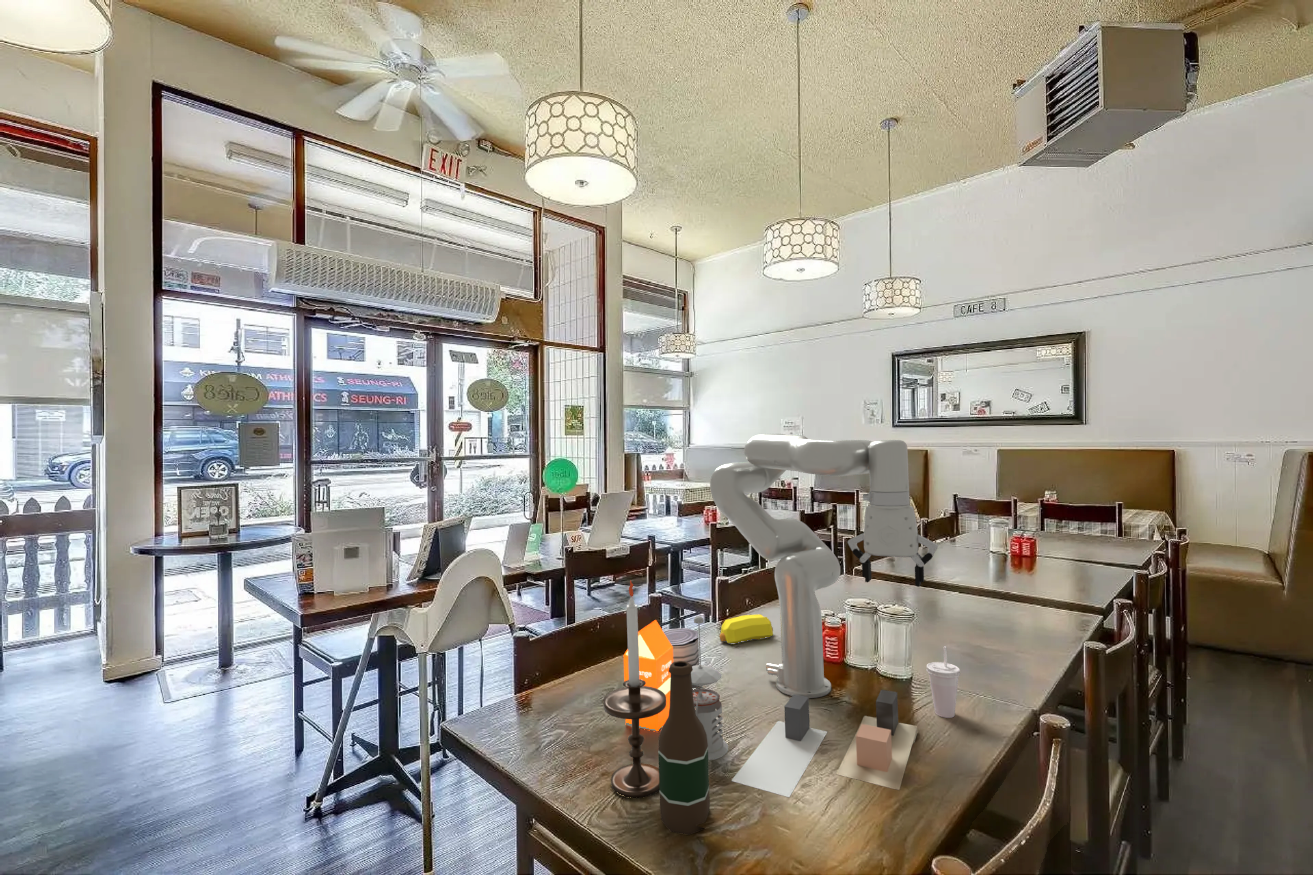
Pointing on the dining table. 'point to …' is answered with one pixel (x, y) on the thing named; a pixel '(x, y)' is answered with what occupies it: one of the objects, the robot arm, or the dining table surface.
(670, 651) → the orange juice
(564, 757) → the dining table surface
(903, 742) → the maple strip
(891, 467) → the robot arm
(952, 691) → the smoothie
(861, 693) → the dining table surface
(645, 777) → the candlestick
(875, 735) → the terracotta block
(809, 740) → the grey strip
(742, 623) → the yellow rounded bar
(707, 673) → the french press
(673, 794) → the beer bottle
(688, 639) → the can
